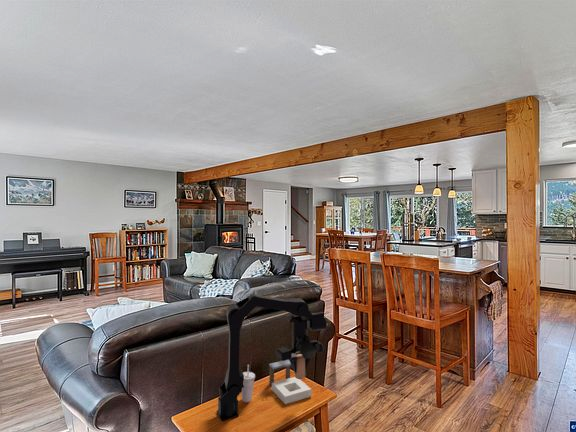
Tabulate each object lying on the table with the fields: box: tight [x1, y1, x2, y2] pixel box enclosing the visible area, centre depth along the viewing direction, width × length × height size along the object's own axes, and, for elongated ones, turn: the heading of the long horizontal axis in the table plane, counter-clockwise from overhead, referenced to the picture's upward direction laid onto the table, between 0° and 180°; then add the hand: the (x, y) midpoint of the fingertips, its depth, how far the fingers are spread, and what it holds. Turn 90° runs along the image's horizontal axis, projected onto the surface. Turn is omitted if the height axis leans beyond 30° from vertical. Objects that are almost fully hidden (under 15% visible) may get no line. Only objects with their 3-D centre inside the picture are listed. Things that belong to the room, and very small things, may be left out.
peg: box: [294, 353, 306, 380], centre depth 130 cm, size 4×4×8 cm
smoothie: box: [240, 364, 256, 403], centre depth 133 cm, size 6×6×14 cm
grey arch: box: [268, 360, 291, 386], centre depth 146 cm, size 10×4×9 cm, turn 118°
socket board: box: [271, 376, 312, 405], centre depth 138 cm, size 12×12×3 cm
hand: (300, 371), depth 130 cm, fingers closed on peg, 4 cm apart
